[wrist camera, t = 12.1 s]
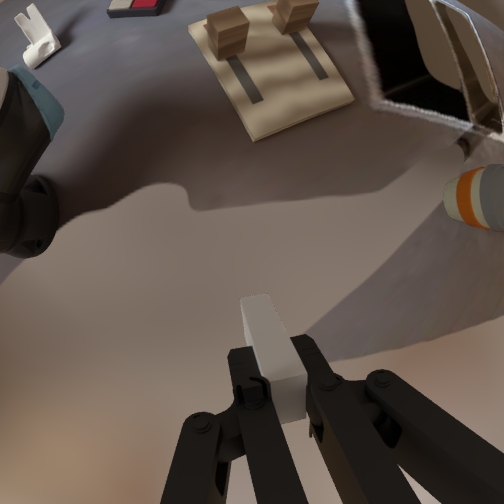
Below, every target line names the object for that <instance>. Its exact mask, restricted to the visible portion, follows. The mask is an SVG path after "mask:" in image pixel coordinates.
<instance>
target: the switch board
mask: <svg viewBox="0 0 504 504" xmlns="http://www.w3.org/2000/svg"><path fill="white" fill-rule="evenodd" d="M277 2H278V0H273V1H269V2H264V3H260V4H256V5H252V6H248V7H244V8H240V9H241V11H242V12H243V13H244V14H245V16H246V17H247V18H248V20H249V21H250V25H249V30H248V36H247V41H246V46H245V52H242V53H239V54H236V55H233V56H230V57H228V58H225V59H222V60H220V61H217V60H216V58H215V56H214V55H213V53H212V52H211V50H210V48H209V47H208V38H207V19H205V20H202V21H199V22H197V23H194V24H191V25H189V26H188V28H189V32H190V34H191V36H192V37H193V39H194V40H195V42H196V44H197V45H198V47H199V49H200V50H201V52H202V53H203V55H204V57H205V58H206V60H207V62H208V63H209V65H210V67H211V69H212V70H213V72H214V74H215V75H216V77H217V79H218V80H219V82H220V84H221V86H222V87H223V89H224V91H225V93H226V94H227V96H228V98H229V100H230V101H231V103H232V105H233V107H234V108H235V110H236V112H237V114H238V116H239V117H240V119H241V121H242V123H243V125H244V126H245V128H246V130H247V132H248V134H249V136H250V137H251V139H252V141H253V142H255V141H258V140H260V139H262V138H264V137H267V136H269V135H271V134H274V133H276V132H278V131H281V130H283V129H285V128H288V127H290V126H293V125H295V124H298V123H300V122H303V121H305V120H308V119H310V118H313V117H315V116H318V115H321V114H323V113H326V112H329V111H331V110H334V109H337V108H339V107H342V106H345V105H348V104H351V103H352V102H353V101H354V100H355V99H354V97H353V95H352V93H351V92H350V90H349V88H348V87H347V85H346V83H345V82H344V80H343V79H342V77H341V75H340V74H339V72H338V71H337V69H336V67H335V66H334V64H333V63H332V61H331V60H330V58H329V57H328V55H327V54H326V52H325V51H324V50H323V48H322V47H321V45H320V44H319V42H318V41H317V40H316V38H315V37H314V35H313V34H312V33H311V31H310V30H309V29H308V27H306V29H305V30H302V31H297V32H293V33H289V34H285V35H281V33H280V32H279V30H278V29H277V28H276V26H275V25H274V24H273V22H272V17H273V14H274V11H275V8H276V5H277Z"/></svg>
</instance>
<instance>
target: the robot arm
mask: <svg viewBox="0 0 504 504" xmlns="http://www.w3.org/2000/svg"><path fill="white" fill-rule="evenodd" d="M64 114H65V113H64V109H63V107H62V106H61V104H60V103H59V102H58V101H57V99H56V98H55V97H54V96H53V95H52V94H51V93H50V92H49V91H48V90H47V89H46V88H45V87H44V86H43V85H42V84H41V83H39V81H38V80H37V79H36V78H35V77H34V76H33V75H32V74H31V73H30V72H29V71H28V70H26V69H25V68H24V67H23V66H21V65H15V66H14V67H13V68H11V69H10V70H9V72H8V71H7V70H6V69H4V68H1V67H0V253H6V254H9V255H11V256H14V257H17V258H22V259H26V258H31V257H35V256H38V255H40V254H41V253H43V252H44V251H45V250H46V249H47V248H48V247H49V245H50V244H51V242H52V240H53V238H54V236H55V233H56V230H57V226H58V219H59V209H58V202H57V198H56V195H55V193H54V190H53V189H52V187H51V186H50V184H49V183H48V182H47V181H46V180H44V179H43V178H41V177H39V176H35V175H30V174H31V172H32V170H33V169H34V167H35V165H36V164H37V162H38V161H39V159H40V157H41V156H42V154H43V153H44V151H45V150H46V148H47V147H48V145H49V144H50V142H52V140H53V138H54V135H55V133H56V132H57V130H58V129H59V127H60V125H61V124H62V122H63V120H64ZM240 302H241V310H242V317H243V324H244V331H245V339H246V343H247V347H242V348H236V349H231V350H230V352H229V354H228V357H227V358H228V364H229V369H230V375H231V380H232V386H233V394H234V401H233V403H232V405H231V406H230V407H229V408H228V409H227V410H225V411H223V412H221V413H219V414H217V415H214V414H211V413H208V412H197V413H195V414H192V415H191V416H189V417H188V418H187V419H186V420H185V422H184V423H183V427H182V429H181V433H180V436H179V440H178V443H177V446H176V450H175V453H174V457H173V460H172V464H171V467H170V470H169V474H168V477H167V481H166V484H165V488H164V491H163V495H162V498H161V502H160V504H226V498H227V491H228V483H229V476H230V469H231V461H232V460H235V459H236V458H239V457H241V456H243V455H245V454H246V456H247V461H248V466H249V470H250V474H251V479H252V483H253V487H254V492H255V496H256V500H257V504H309V503H308V501H307V498H306V495H305V492H304V490H303V487H302V484H301V481H300V479H299V476H298V473H297V470H296V467H295V465H294V462H293V459H292V456H291V453H290V450H289V447H288V444H287V442H286V439H285V436H284V433H283V430H282V427H281V424H285V423H289V422H293V421H297V420H301V419H305V418H306V411H307V413H308V416H309V418H310V426H309V437H310V438H311V437H312V433H313V436H314V438H315V440H316V443H317V445H318V447H319V450H320V452H321V454H322V457H323V459H324V461H325V464H326V466H327V468H328V471H329V473H330V475H331V477H332V479H333V482H334V484H335V487H336V489H337V491H338V493H339V496H340V498H341V500H342V502H343V504H421V502H420V500H419V499H418V497H417V496H416V494H415V492H414V491H413V490H412V488H411V486H410V484H409V482H408V481H407V479H406V477H405V476H404V474H403V473H402V471H401V469H400V468H399V466H400V467H401V468H402V469H404V471H406V472H407V473H408V474H409V475H410V476H411V477H412V478H413V479H415V481H417V482H418V483H419V484H420V485H421V486H422V487H423V488H424V489H425V490H427V491H428V492H429V493H430V494H431V495H432V496H433V497H435V498H436V499H437V500H438V501H439V502H440V503H441V504H504V453H502V452H501V451H499V450H498V449H497V448H495V447H494V446H493V445H491V444H490V443H488V442H487V441H486V440H484V439H483V438H481V437H480V436H479V435H477V434H476V433H475V432H473V431H472V430H470V429H469V428H468V427H466V426H465V425H464V424H462V423H461V422H460V421H458V420H456V419H455V418H454V417H453V416H451V415H450V414H449V413H447V412H446V411H445V410H443V409H442V408H440V407H439V406H438V405H436V404H435V403H434V402H432V401H431V400H430V399H428V398H427V397H425V396H424V395H423V394H421V393H420V392H419V391H417V390H416V389H415V388H413V387H412V386H411V385H409V384H408V383H407V382H405V381H404V380H402V379H401V378H400V377H399V376H397V375H396V374H395V373H393V372H391V371H389V370H384V369H381V370H375V371H373V372H371V373H370V374H369V375H368V376H367V378H366V380H357V381H348V380H345V379H344V378H343V377H342V376H340V375H338V374H336V373H333V371H332V369H331V368H330V366H329V364H328V363H327V361H326V359H325V358H324V356H323V354H322V353H321V351H320V350H319V348H318V347H317V345H316V343H315V341H314V340H313V339H312V338H311V337H309V336H307V335H306V334H303V335H299V336H295V337H289V336H288V334H287V332H286V330H285V328H284V326H283V324H282V322H281V319H280V317H279V315H278V314H277V311H276V309H275V308H274V305H273V304H272V301H271V299H270V297H269V296H268V293H266V294H260V295H254V296H249V297H242V298H240ZM398 465H399V466H398Z"/></svg>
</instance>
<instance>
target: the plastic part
mask: <svg viewBox="0 0 504 504" xmlns="http://www.w3.org/2000/svg"><path fill="white" fill-rule="evenodd" d="M27 11H28V14H29V16H30V20H29V19H27V18H26V16H25V15H24V14H23V13H20V14H19V15H17V16H16V17H15V18H14V19H15V21H16V22H17V23H18V25H19V26H20V27H21V28H22V31H23V32H24V33H25V35H26V36H27V38H28V39H29V41H30V42H31V44H30V45H29V46H27V48H28V49H27V50H26V51H25V52H24V54H23V58H24V61H25V63H26V64H27V66H28V67H29V68H30V69H34V68H35V67H37V66H38V65H39V64H40V63H41V62H43V61H44V60H45V59H46V58H48V57H49V56H50V55H51V54H53V53H54V52H55V51H57V50H58V49H59V48H61V45H60V42H59V40H58V39H57V37H56V36H55V34H54V33H53V32H52V30H51V29H50V27H49V26H48V24H47V23H46V21H45V20H44V18H43V17H42V15H41V14H40V12H39V11H38V9H37V7H36V6H35V4H34V3H32V4H31V5H30V6H29V7H27Z"/></svg>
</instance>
